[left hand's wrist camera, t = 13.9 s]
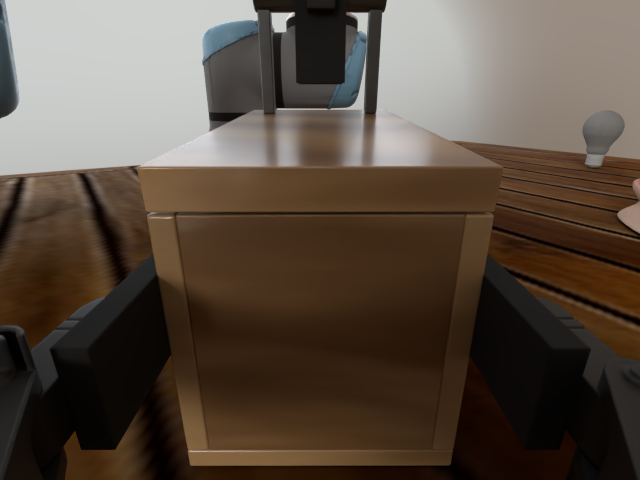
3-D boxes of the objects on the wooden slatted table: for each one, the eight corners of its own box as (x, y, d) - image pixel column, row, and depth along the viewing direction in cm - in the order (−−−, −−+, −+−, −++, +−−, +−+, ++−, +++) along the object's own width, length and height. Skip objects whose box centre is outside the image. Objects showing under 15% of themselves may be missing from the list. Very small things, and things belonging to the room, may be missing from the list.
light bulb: (581, 169, 67) (596, 110, 63) (568, 163, 72) (581, 110, 69) (619, 170, 66) (636, 111, 62) (602, 164, 71) (617, 110, 68)
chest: (261, 262, 29) (254, 143, 26) (378, 262, 29) (385, 143, 26) (189, 467, 13) (145, 215, 10) (451, 466, 13) (495, 214, 10)
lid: (254, 128, 26) (244, -15, 22) (385, 128, 26) (394, -15, 22) (145, 213, 10) (50, -254, 6) (495, 212, 10) (589, -254, 6)
